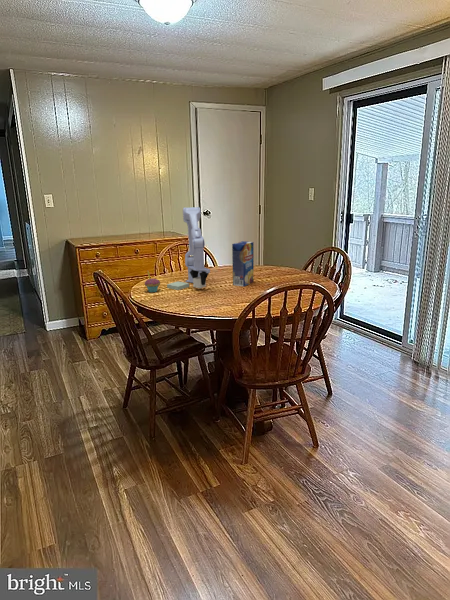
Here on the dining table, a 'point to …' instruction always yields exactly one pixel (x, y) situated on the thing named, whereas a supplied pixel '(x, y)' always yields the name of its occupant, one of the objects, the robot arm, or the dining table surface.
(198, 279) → the block
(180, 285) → the base
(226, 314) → the dining table surface
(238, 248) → the juice carton
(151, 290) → the cupcake
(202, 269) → the robot arm
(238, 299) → the dining table surface
